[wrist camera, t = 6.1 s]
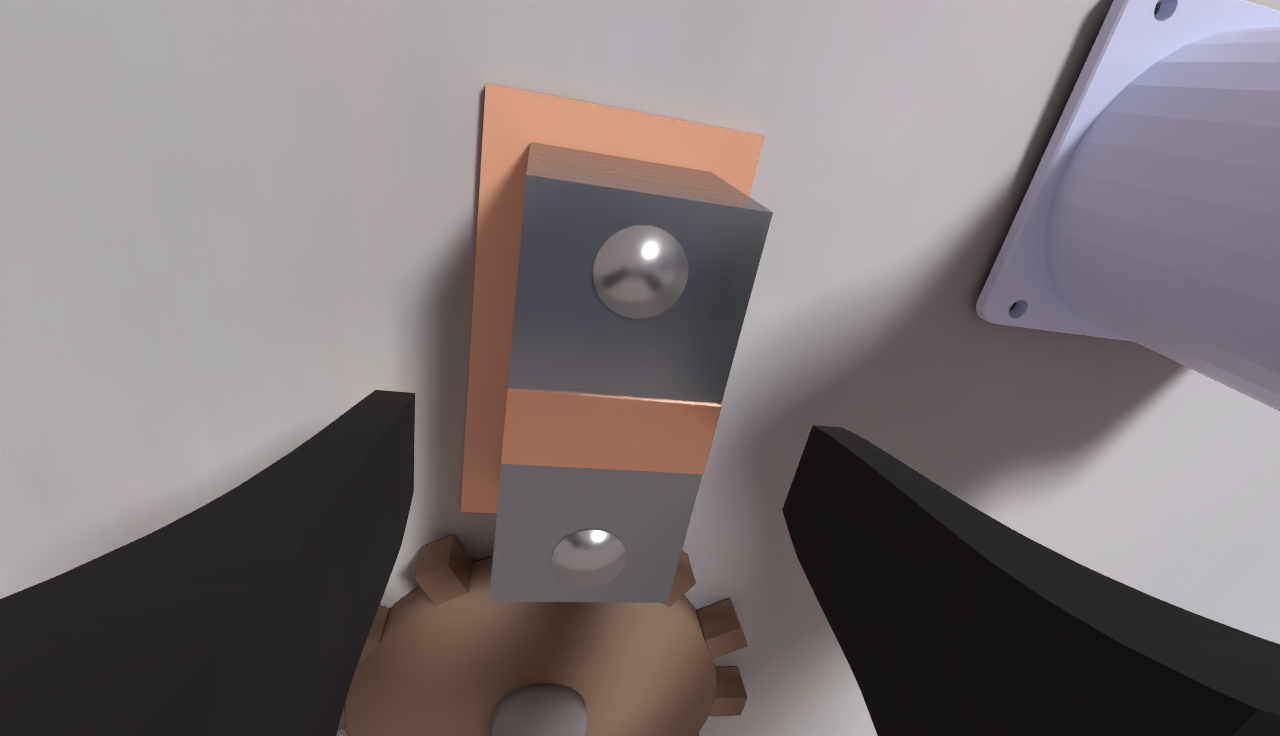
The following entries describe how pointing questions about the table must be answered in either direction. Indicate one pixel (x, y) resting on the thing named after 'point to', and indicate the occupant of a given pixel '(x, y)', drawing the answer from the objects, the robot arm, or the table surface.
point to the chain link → (616, 370)
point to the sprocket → (540, 661)
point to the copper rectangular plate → (499, 228)
